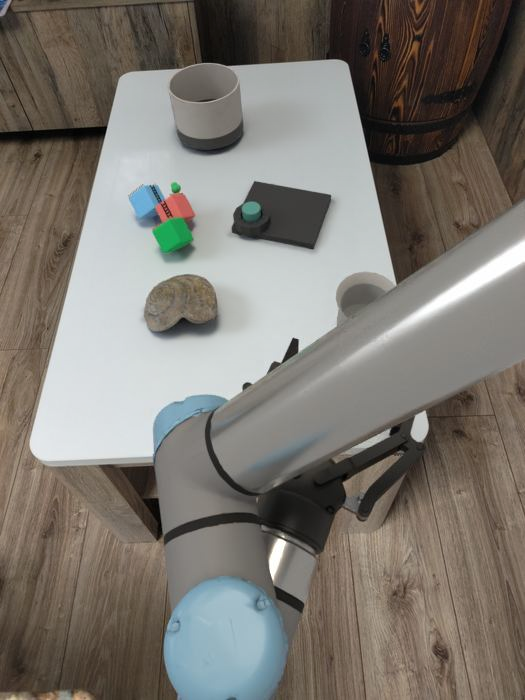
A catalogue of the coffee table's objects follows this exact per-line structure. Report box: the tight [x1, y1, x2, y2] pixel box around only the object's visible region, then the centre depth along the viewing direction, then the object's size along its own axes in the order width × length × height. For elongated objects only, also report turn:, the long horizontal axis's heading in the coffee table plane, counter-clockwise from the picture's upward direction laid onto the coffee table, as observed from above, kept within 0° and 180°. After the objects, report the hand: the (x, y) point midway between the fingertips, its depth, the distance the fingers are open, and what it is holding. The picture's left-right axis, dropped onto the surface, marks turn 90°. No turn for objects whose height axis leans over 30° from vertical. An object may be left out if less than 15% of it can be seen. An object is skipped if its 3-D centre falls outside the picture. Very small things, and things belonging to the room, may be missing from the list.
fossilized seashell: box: [143, 273, 218, 333], centre depth 73 cm, size 11×11×7 cm
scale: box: [231, 180, 332, 250], centre depth 83 cm, size 14×13×3 cm
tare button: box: [242, 202, 261, 222], centre depth 81 cm, size 3×3×2 cm
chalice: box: [335, 271, 396, 327], centre depth 60 cm, size 7×7×18 cm
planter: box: [167, 62, 244, 151], centre depth 93 cm, size 13×13×10 cm
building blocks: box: [127, 181, 196, 254], centre depth 81 cm, size 8×8×12 cm
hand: (351, 362), depth 58 cm, fingers open, 13 cm apart
